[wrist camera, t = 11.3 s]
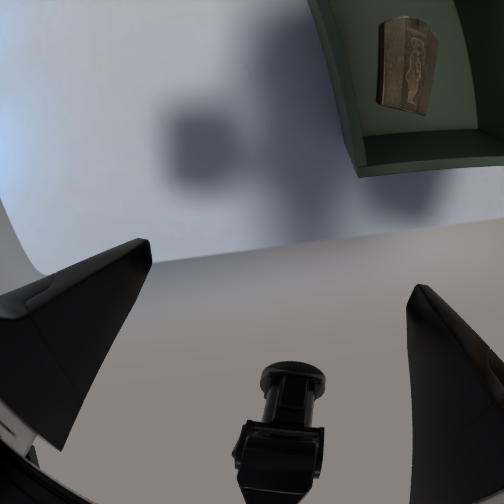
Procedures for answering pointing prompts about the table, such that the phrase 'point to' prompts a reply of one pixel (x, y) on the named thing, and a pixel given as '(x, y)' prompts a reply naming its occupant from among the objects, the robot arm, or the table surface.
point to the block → (406, 64)
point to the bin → (442, 93)
